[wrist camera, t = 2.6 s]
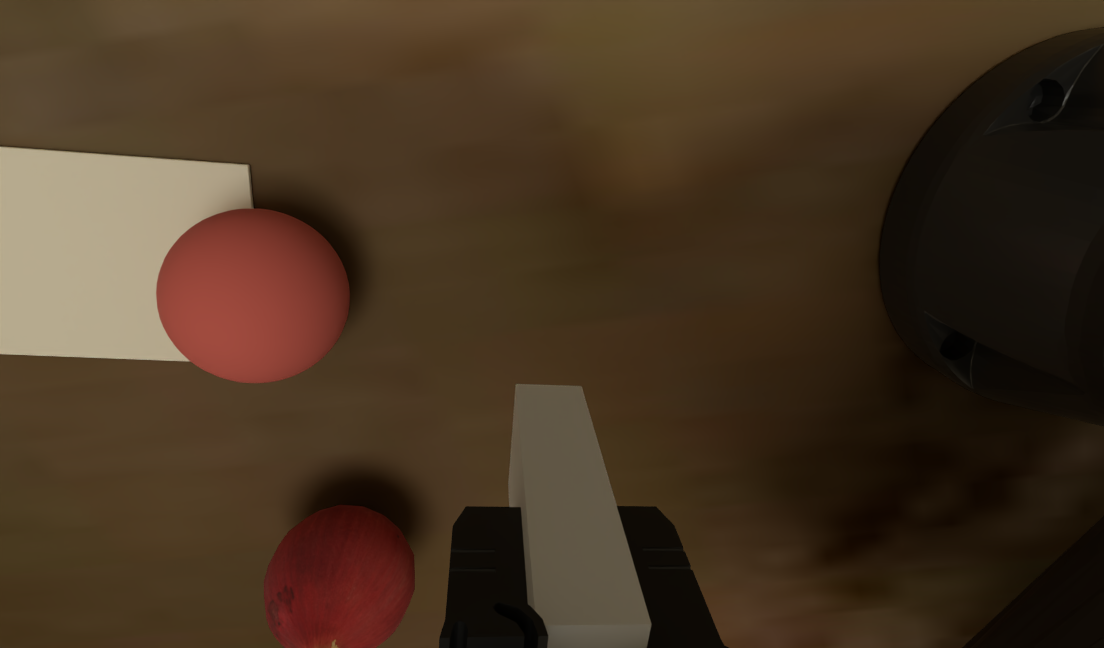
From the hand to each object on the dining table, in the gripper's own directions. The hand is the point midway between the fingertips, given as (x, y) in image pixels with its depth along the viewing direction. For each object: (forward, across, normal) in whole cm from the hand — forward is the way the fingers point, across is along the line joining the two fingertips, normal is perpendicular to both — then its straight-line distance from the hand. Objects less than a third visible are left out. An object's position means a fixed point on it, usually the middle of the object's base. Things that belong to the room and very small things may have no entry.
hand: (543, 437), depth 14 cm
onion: (+12, +7, +12) cm, 18 cm away
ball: (+9, +9, 0) cm, 13 cm away
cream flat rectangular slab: (+12, +17, 0) cm, 20 cm away
